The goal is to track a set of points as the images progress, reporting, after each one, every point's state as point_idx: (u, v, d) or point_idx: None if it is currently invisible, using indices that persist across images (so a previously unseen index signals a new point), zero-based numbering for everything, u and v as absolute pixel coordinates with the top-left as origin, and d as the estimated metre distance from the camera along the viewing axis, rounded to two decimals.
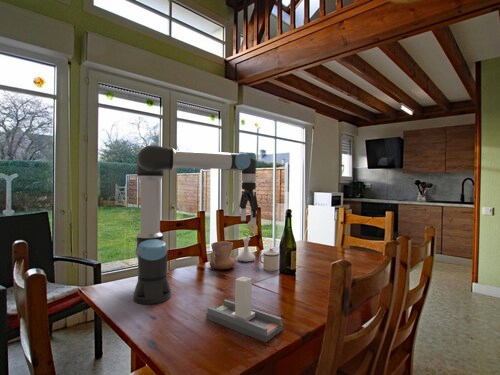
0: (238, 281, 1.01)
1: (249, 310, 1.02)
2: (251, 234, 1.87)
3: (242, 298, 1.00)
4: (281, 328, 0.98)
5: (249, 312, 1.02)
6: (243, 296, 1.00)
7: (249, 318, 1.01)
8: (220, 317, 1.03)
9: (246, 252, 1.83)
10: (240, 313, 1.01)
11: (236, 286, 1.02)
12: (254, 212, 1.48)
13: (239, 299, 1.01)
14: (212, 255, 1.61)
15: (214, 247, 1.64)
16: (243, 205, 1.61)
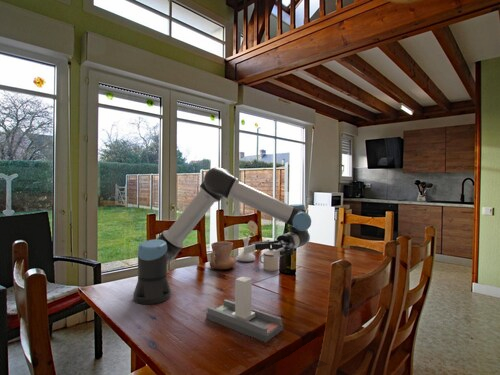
0: (238, 281, 1.01)
1: (249, 310, 1.02)
2: (251, 234, 1.87)
3: (242, 298, 1.00)
4: (281, 328, 0.98)
5: (249, 312, 1.02)
6: (243, 296, 1.00)
7: (249, 318, 1.01)
8: (220, 317, 1.03)
9: None
10: (240, 313, 1.01)
11: (236, 286, 1.02)
12: (286, 251, 1.11)
13: (239, 299, 1.01)
14: (212, 255, 1.61)
15: (214, 247, 1.64)
16: (258, 245, 1.22)
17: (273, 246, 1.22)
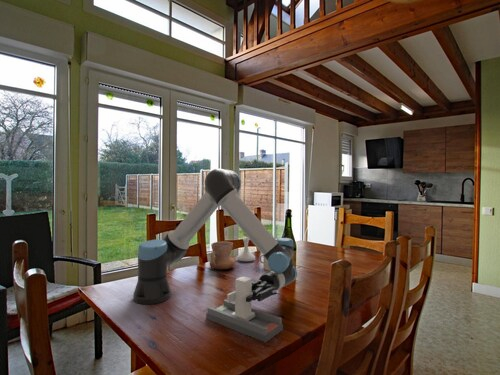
0: (238, 281, 1.01)
1: (249, 310, 1.02)
2: None
3: None
4: (281, 328, 0.98)
5: (249, 312, 1.02)
6: None
7: (249, 318, 1.01)
8: (220, 317, 1.03)
9: (246, 252, 1.83)
10: (240, 313, 1.01)
11: (236, 286, 1.02)
12: (253, 297, 1.01)
13: None
14: (212, 255, 1.61)
15: (214, 247, 1.64)
16: None
17: (255, 287, 1.10)
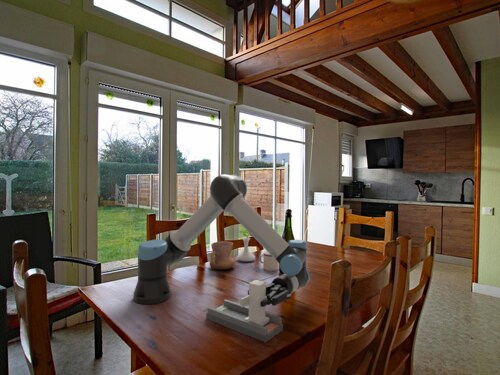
0: (252, 285, 0.98)
1: (263, 315, 0.98)
2: None
3: None
4: (281, 328, 0.98)
5: (263, 317, 0.99)
6: None
7: (263, 323, 0.97)
8: (220, 317, 1.03)
9: (246, 252, 1.83)
10: (254, 318, 0.97)
11: (249, 290, 0.98)
12: (267, 301, 0.97)
13: None
14: (212, 255, 1.61)
15: (214, 247, 1.64)
16: None
17: (268, 291, 1.07)
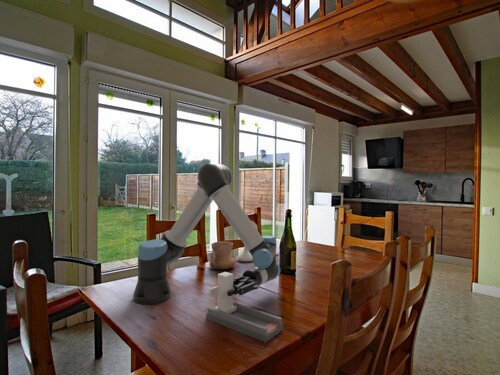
0: (220, 276, 1.06)
1: (230, 304, 1.07)
2: None
3: None
4: (281, 328, 0.98)
5: (230, 306, 1.07)
6: None
7: (230, 311, 1.06)
8: (220, 317, 1.03)
9: (246, 252, 1.83)
10: (222, 307, 1.06)
11: (218, 281, 1.07)
12: (234, 291, 1.06)
13: None
14: (212, 255, 1.61)
15: (214, 247, 1.64)
16: None
17: (238, 283, 1.15)
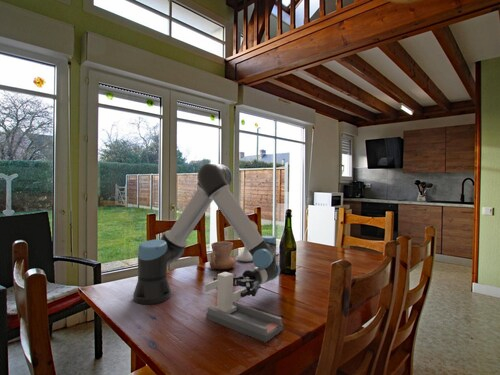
0: (220, 276, 1.06)
1: (230, 304, 1.07)
2: None
3: (223, 292, 1.05)
4: (281, 328, 0.98)
5: (230, 306, 1.07)
6: (224, 291, 1.05)
7: (230, 311, 1.06)
8: (220, 317, 1.03)
9: (246, 252, 1.83)
10: (222, 307, 1.06)
11: (218, 281, 1.07)
12: (247, 292, 1.05)
13: (221, 293, 1.06)
14: (212, 255, 1.61)
15: (214, 247, 1.64)
16: None
17: (237, 283, 1.15)
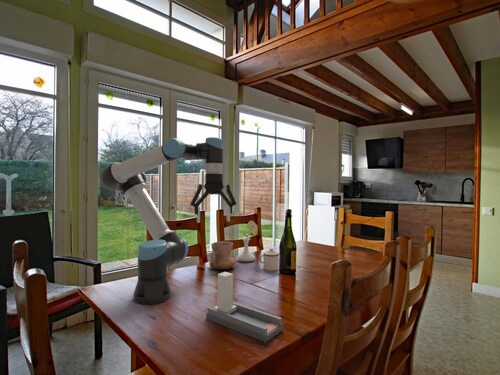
0: (220, 276, 1.06)
1: (230, 304, 1.07)
2: (251, 234, 1.87)
3: (223, 292, 1.05)
4: (281, 328, 0.98)
5: (230, 306, 1.07)
6: (224, 291, 1.05)
7: (230, 311, 1.06)
8: (220, 317, 1.03)
9: (246, 252, 1.83)
10: (222, 307, 1.06)
11: (218, 281, 1.07)
12: None
13: (221, 293, 1.06)
14: (212, 255, 1.61)
15: (214, 247, 1.64)
16: (226, 202, 1.32)
17: (216, 194, 1.30)
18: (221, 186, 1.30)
